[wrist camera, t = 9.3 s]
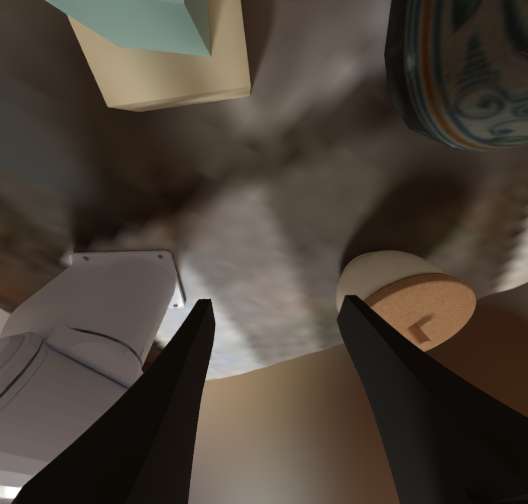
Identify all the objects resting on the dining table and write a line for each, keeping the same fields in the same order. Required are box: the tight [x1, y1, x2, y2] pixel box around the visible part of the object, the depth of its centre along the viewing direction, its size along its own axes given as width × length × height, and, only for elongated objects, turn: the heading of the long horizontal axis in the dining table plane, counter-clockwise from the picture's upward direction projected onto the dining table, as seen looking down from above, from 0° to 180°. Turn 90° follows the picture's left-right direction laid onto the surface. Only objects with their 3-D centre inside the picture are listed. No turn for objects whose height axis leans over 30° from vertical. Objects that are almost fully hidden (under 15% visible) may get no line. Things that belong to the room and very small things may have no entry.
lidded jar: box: [336, 250, 476, 352], centre depth 20 cm, size 11×11×9 cm
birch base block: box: [67, 0, 251, 112], centre depth 10 cm, size 8×8×4 cm
